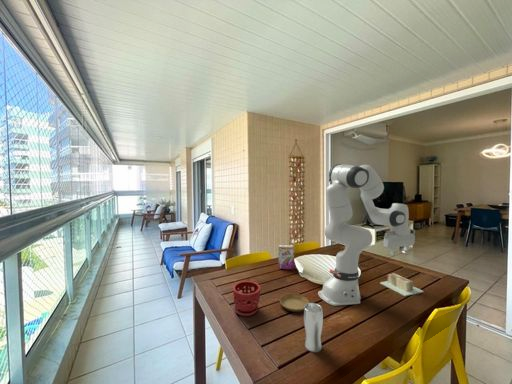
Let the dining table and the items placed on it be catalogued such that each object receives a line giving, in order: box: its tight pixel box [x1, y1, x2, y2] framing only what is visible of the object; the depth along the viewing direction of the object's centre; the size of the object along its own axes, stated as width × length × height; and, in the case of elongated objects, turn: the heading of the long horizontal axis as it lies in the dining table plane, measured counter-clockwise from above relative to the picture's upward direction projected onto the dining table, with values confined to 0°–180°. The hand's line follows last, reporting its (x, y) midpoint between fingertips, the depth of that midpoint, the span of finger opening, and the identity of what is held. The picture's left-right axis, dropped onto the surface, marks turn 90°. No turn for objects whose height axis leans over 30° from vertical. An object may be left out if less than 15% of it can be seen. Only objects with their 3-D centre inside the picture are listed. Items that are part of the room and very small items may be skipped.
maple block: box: [387, 272, 414, 292], centre depth 127 cm, size 5×5×12 cm
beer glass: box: [303, 302, 324, 353], centre depth 82 cm, size 7×7×15 cm
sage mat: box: [379, 280, 424, 297], centre depth 127 cm, size 14×16×1 cm
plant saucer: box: [279, 293, 310, 313], centre depth 110 cm, size 15×15×3 cm
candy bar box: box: [278, 244, 295, 270], centre depth 157 cm, size 11×5×16 cm, turn 84°
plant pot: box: [232, 280, 261, 317], centre depth 105 cm, size 13×13×12 cm
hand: (398, 253), depth 127 cm, fingers open, 8 cm apart
